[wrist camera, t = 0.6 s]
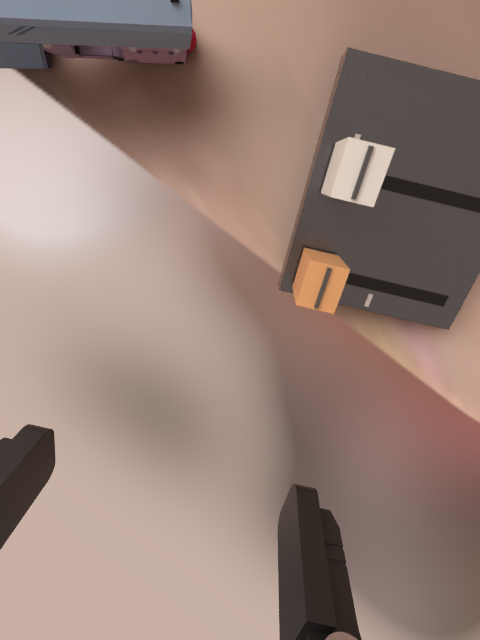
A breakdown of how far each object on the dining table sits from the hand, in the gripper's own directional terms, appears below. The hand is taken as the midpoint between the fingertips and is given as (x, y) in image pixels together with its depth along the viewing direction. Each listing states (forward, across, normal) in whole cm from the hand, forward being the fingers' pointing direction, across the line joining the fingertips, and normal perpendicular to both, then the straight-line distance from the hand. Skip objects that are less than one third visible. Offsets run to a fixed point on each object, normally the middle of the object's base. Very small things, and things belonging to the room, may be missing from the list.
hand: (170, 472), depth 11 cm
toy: (+24, +14, -15) cm, 31 cm away
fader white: (+21, -7, -10) cm, 24 cm away
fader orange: (+21, -7, -2) cm, 22 cm away
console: (+23, -12, -8) cm, 28 cm away
